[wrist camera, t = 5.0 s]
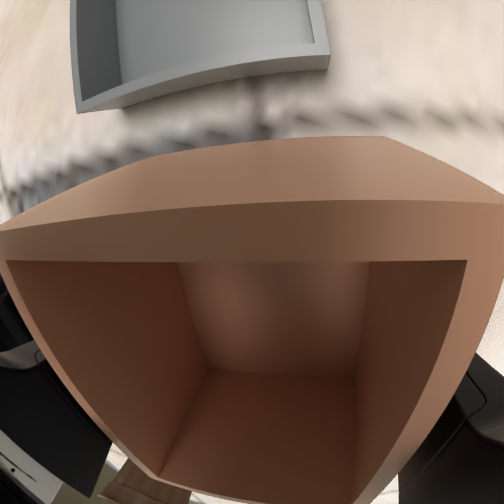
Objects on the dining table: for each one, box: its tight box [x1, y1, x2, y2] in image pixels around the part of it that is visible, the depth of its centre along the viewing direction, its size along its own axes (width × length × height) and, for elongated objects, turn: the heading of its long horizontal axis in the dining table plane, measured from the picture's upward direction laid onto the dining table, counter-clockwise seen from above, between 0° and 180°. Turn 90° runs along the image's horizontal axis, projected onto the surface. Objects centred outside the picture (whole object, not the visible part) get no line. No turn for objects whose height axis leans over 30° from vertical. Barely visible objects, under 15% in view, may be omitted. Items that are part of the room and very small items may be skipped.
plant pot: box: [97, 458, 192, 504], centre depth 37 cm, size 16×16×16 cm
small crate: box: [0, 136, 504, 504], centre depth 7 cm, size 7×9×6 cm
